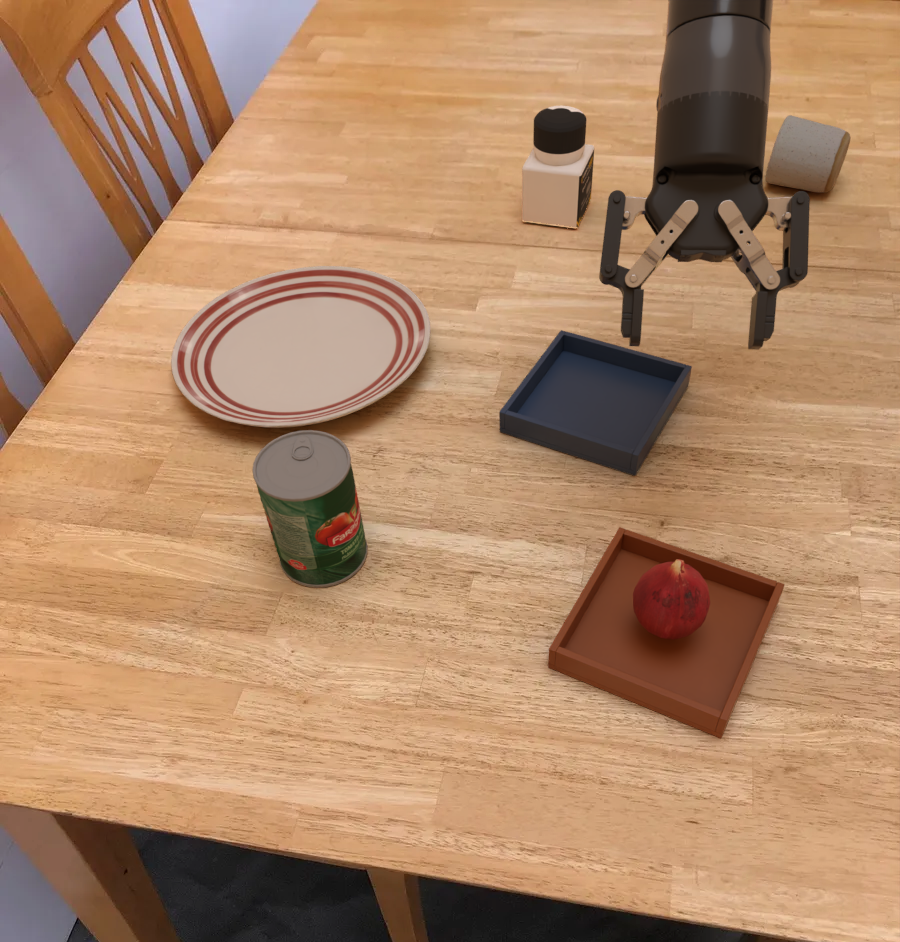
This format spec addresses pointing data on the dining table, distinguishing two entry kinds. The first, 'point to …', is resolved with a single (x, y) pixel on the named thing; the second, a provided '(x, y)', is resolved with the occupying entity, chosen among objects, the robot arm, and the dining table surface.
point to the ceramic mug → (807, 155)
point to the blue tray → (596, 401)
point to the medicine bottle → (558, 168)
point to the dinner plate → (301, 346)
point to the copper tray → (658, 659)
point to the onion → (671, 600)
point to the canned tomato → (312, 507)
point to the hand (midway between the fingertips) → (694, 346)
